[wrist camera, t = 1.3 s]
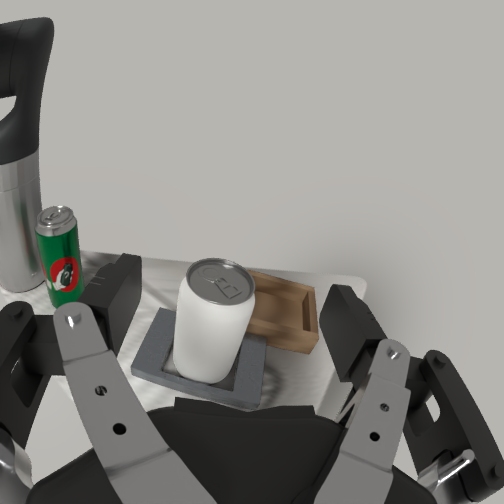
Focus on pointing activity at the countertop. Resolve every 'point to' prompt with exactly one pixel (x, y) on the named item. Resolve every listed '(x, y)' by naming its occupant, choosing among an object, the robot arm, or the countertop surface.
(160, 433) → the robot arm
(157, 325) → the gray rectangular tray
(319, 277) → the countertop surface
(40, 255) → the soda can
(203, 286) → the can
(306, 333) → the open wooden box
